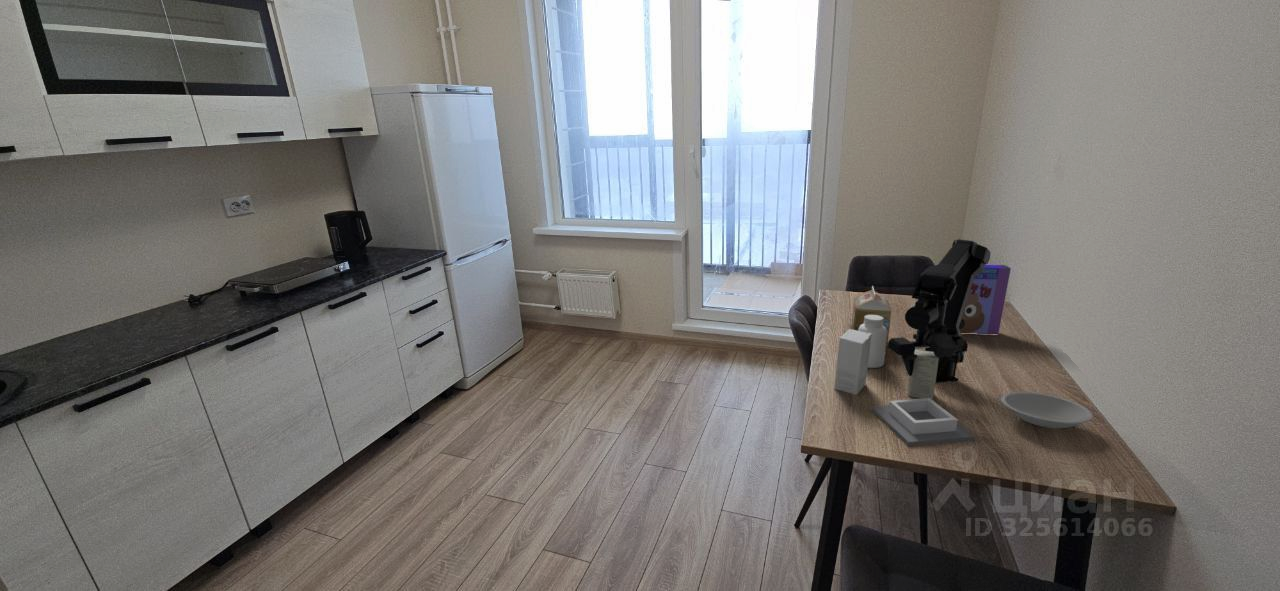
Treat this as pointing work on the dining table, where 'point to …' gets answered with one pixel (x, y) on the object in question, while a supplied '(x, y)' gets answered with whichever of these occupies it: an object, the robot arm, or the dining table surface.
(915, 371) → the skincare box
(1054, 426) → the dish
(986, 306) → the cereal box
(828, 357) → the dining table surface
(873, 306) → the milk carton
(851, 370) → the skincare box
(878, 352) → the pill bottle
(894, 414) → the socket stand
